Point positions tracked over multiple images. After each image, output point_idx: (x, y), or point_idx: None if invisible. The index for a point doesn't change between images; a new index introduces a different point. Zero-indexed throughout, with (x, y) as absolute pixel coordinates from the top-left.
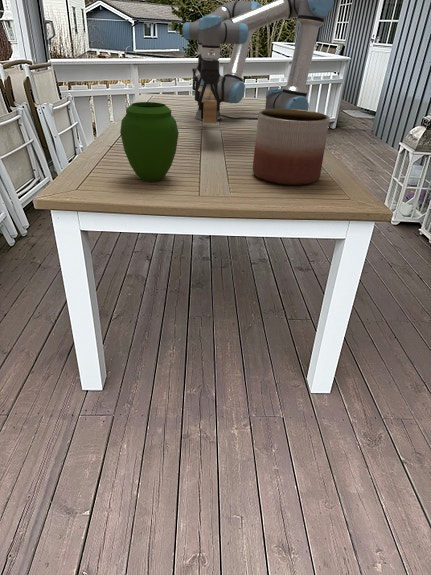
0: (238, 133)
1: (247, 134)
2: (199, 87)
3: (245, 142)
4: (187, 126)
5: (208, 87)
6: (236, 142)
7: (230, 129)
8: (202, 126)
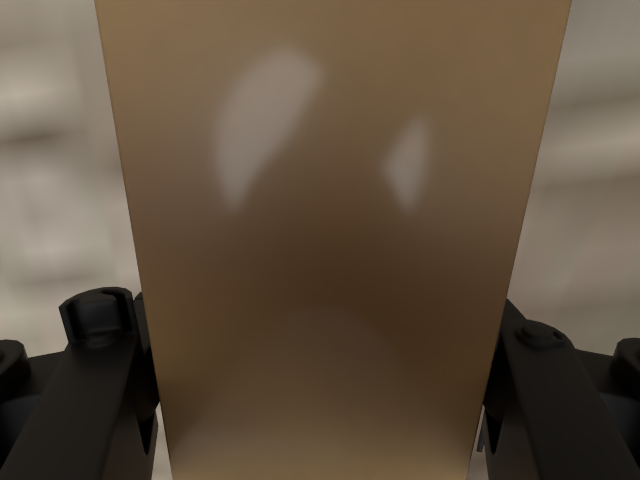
0: (561, 274)
1: (615, 297)
2: (144, 303)
3: None
4: None
5: (467, 258)
6: (469, 474)
7: (548, 139)
8: None
